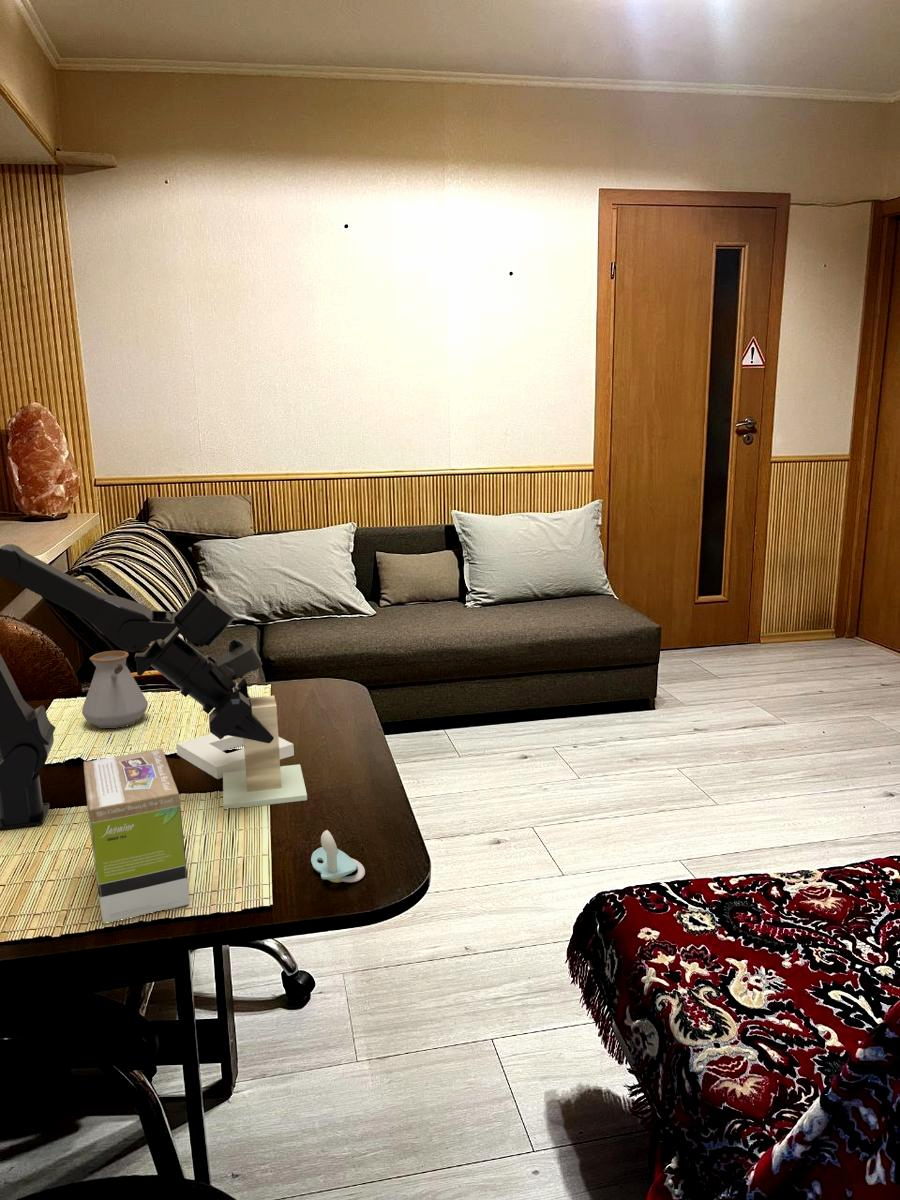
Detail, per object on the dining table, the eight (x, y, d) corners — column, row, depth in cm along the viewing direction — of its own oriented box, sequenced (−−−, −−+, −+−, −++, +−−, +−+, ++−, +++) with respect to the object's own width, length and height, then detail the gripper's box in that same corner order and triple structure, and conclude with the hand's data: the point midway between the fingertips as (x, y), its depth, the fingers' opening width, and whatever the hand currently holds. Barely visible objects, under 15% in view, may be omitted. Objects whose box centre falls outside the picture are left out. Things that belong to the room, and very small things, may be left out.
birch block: (281, 788, 138) (276, 705, 135) (247, 792, 136) (241, 709, 134) (279, 775, 142) (274, 695, 139) (246, 779, 141) (240, 698, 138)
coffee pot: (80, 717, 172) (72, 640, 169) (144, 707, 177) (137, 632, 174) (92, 756, 153) (83, 670, 150) (163, 743, 158) (155, 660, 155)
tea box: (93, 867, 117) (81, 758, 114) (174, 850, 121) (165, 745, 118) (101, 927, 103) (87, 806, 100) (192, 907, 107) (182, 789, 104)
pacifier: (351, 857, 119) (307, 867, 116) (350, 812, 117) (306, 821, 115) (373, 883, 112) (327, 894, 110) (373, 835, 111) (327, 846, 108)
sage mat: (307, 800, 135) (306, 795, 135) (223, 809, 132) (223, 804, 132) (300, 768, 147) (300, 764, 146) (223, 777, 144) (222, 772, 144)
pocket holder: (294, 755, 152) (293, 744, 152) (217, 779, 143) (216, 767, 143) (251, 733, 162) (250, 722, 162) (177, 754, 153) (176, 743, 153)
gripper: (228, 643, 124) (314, 712, 129) (223, 613, 142) (298, 675, 147) (173, 705, 124) (260, 771, 129) (174, 667, 141) (251, 727, 147)
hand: (269, 732), depth 138 cm, fingers open, 7 cm apart
